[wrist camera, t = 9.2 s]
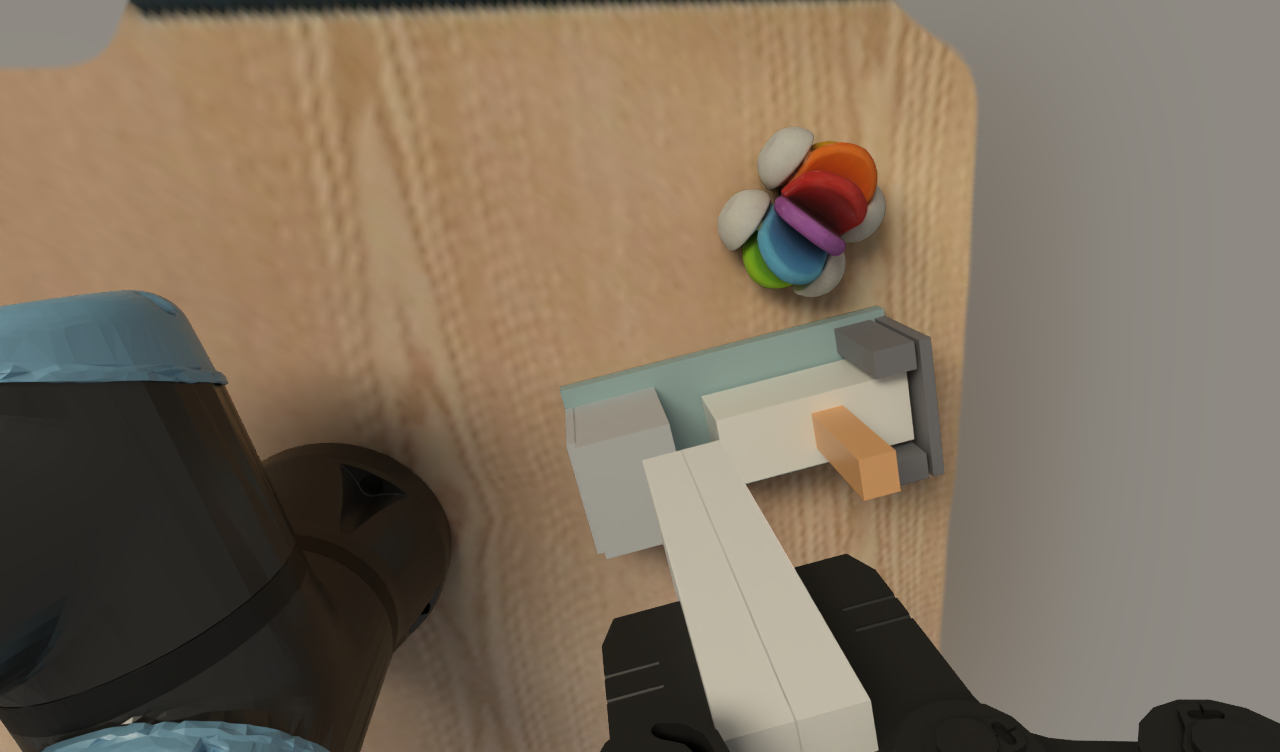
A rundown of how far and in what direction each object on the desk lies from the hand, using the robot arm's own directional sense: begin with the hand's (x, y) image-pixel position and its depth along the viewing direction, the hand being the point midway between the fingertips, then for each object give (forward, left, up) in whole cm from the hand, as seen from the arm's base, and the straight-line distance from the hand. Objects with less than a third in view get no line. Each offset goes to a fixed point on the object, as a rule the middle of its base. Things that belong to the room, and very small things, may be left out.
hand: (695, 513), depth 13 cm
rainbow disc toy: (+13, 0, -33) cm, 35 cm away
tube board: (+6, -12, -32) cm, 35 cm away
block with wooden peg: (+10, -12, -31) cm, 35 cm away
